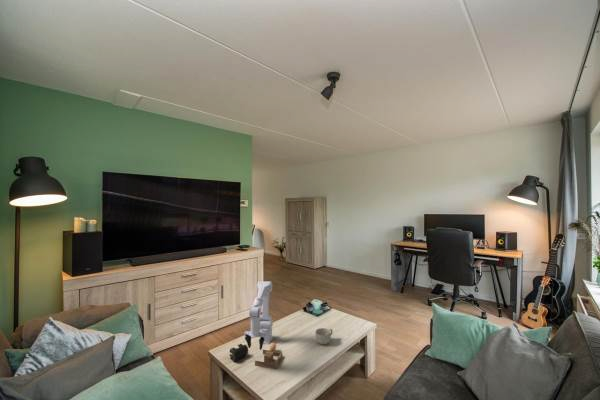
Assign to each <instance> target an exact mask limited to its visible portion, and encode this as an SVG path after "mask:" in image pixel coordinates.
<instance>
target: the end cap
mask: <svg viewBox="0 0 600 400" xmlns="http://www.w3.org/2000/svg"><path fill="white" fill-rule="evenodd" d="M248 353H249V348H248V345H247V344H242V343H239V344H237V348H236V347H234V346H233V347H230V349H229V357H230V358H229V360H231V361H232V362H235V361H237V360H239V359H241V358H243V357H245V356H247V354H248Z"/></svg>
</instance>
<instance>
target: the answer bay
mask: <svg viewBox="0 0 600 400" xmlns="http://www.w3.org/2000/svg"><path fill="white" fill-rule="evenodd" d="M266 352H273V357H277V358H276V360H275V362H274V363H272V362H271V363H267V362H264V361H261V360H255V361H254V366H256V367H261V368H266V369H267V368H268V369H271V370H276V369H277V367H278V365H279V364H280V362H281V360H282V358H283V352H280V351H276V352H275V351H270V349H262V354H263V355H265V353H266Z"/></svg>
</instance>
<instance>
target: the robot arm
mask: <svg viewBox="0 0 600 400" xmlns="http://www.w3.org/2000/svg"><path fill="white" fill-rule="evenodd" d="M256 288H257V291H258V292H257V297H255V298H254V300H253V304H252V307H250V308H249V311H248V312H249V315H248V316H249V320H250V330H245V331H244V332H243V336H244V340H245V342H246V345H247V347H248V349H250V348H251V347H252V339H254V338H259V339H258V343H259V350H260V351H261V350H263V344H264V345H265V344H266V345H270V343H271V342H272V340H273V339H274V336H273V325H274V321H273V316H272V315H271V314H270V312H269V311H270V293H271V292H272V291H273V282H272V281H266V280H265V281H263V280H258V282H257V285H256Z"/></svg>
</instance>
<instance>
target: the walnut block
mask: <svg viewBox="0 0 600 400" xmlns="http://www.w3.org/2000/svg"><path fill="white" fill-rule="evenodd" d="M273 360H274V356H273V352H266V353H265V354H263V362H267V363H272V362H273Z"/></svg>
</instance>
